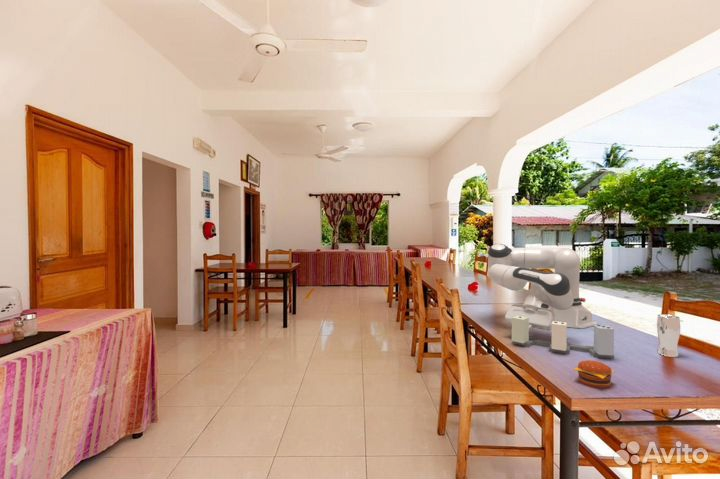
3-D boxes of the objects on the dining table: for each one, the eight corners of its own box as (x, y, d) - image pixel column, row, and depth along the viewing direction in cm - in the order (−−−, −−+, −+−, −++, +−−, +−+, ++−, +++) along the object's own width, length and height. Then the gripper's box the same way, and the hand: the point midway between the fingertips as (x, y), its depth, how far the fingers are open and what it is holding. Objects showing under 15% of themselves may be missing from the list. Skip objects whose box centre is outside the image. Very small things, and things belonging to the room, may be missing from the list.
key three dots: (593, 350, 142) (593, 324, 142) (608, 351, 141) (608, 324, 140) (598, 354, 137) (598, 327, 137) (613, 355, 136) (613, 328, 135)
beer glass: (684, 358, 137) (685, 318, 137) (663, 357, 139) (663, 318, 138) (672, 352, 144) (673, 314, 144) (652, 351, 145) (653, 313, 145)
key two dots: (552, 345, 148) (552, 320, 148) (566, 347, 146) (566, 321, 145) (551, 348, 144) (551, 323, 144) (566, 350, 141) (566, 324, 141)
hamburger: (605, 391, 110) (605, 369, 110) (571, 381, 118) (571, 361, 118) (617, 383, 116) (617, 362, 116) (584, 374, 124) (584, 354, 123)
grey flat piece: (515, 338, 165) (515, 334, 165) (612, 351, 145) (612, 348, 145) (510, 345, 155) (510, 341, 155) (614, 360, 135) (614, 356, 135)
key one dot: (517, 338, 158) (517, 314, 158) (528, 341, 154) (528, 316, 154) (511, 340, 155) (511, 316, 155) (523, 343, 151) (523, 318, 151)
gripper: (508, 300, 169) (498, 324, 163) (555, 306, 154) (545, 334, 148) (513, 308, 172) (503, 332, 166) (559, 315, 157) (549, 342, 151)
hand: (523, 333), depth 157 cm, fingers closed, pressing on key one dot
